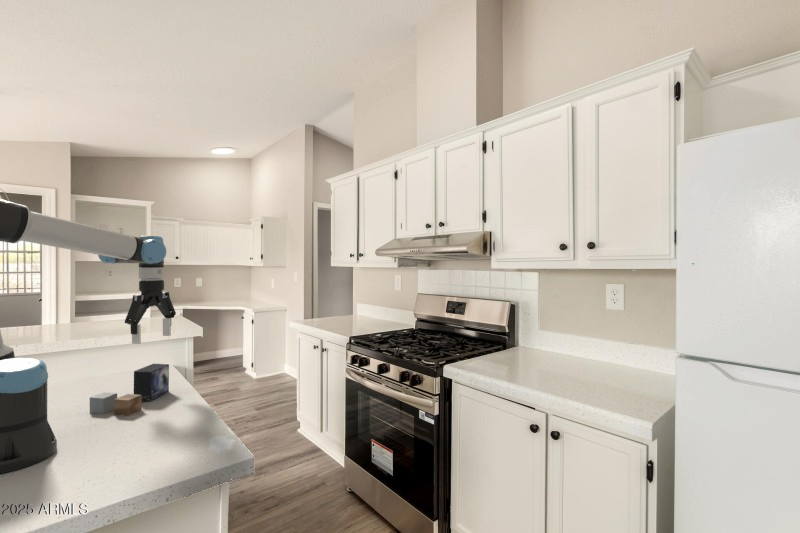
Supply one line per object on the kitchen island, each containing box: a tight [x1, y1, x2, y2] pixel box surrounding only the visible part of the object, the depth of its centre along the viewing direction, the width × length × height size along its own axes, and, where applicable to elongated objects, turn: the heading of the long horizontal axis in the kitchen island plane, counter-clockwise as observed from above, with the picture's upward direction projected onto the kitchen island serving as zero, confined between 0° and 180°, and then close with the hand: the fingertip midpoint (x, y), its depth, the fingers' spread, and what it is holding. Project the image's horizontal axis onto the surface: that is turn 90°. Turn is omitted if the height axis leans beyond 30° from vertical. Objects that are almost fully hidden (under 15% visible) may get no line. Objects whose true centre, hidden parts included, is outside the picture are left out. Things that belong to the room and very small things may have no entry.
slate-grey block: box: [89, 391, 118, 415], centre depth 125 cm, size 5×5×5 cm
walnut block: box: [113, 393, 142, 417], centre depth 123 cm, size 5×5×5 cm
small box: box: [133, 363, 170, 403], centre depth 138 cm, size 11×6×10 cm, turn 179°
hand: (152, 339), depth 138 cm, fingers open, 13 cm apart
